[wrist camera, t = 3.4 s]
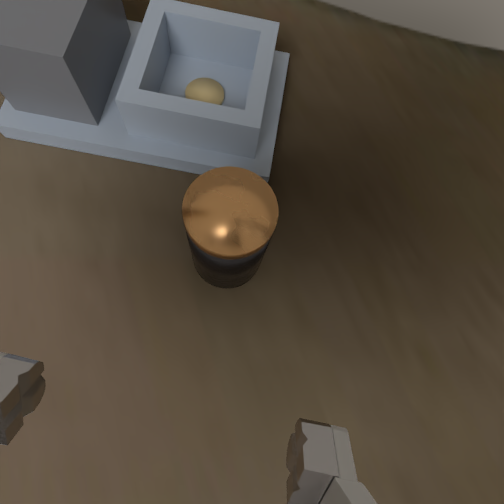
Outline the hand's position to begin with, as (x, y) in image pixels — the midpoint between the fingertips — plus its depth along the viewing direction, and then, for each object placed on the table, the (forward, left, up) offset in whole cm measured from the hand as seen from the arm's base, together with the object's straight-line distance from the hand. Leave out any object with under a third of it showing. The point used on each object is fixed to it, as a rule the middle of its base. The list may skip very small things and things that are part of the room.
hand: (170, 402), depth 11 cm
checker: (+8, -21, -12) cm, 25 cm away
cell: (0, -9, -12) cm, 15 cm away
